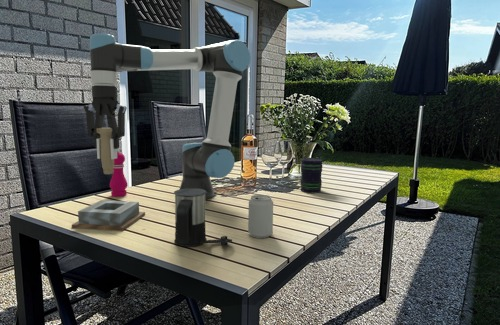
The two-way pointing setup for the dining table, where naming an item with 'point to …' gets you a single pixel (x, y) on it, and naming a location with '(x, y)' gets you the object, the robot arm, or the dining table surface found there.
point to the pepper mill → (118, 177)
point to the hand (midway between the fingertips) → (107, 158)
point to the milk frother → (192, 219)
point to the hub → (109, 215)
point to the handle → (106, 150)
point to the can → (260, 216)
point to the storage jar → (311, 175)
